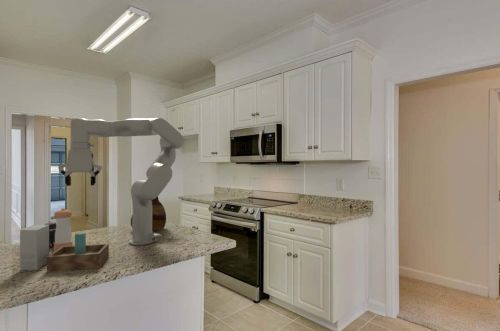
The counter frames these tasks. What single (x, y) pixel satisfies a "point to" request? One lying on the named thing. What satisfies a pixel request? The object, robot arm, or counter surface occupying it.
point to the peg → (80, 243)
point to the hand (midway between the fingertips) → (80, 185)
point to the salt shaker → (63, 229)
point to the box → (77, 258)
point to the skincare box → (34, 247)
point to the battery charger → (51, 233)
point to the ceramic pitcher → (157, 215)
